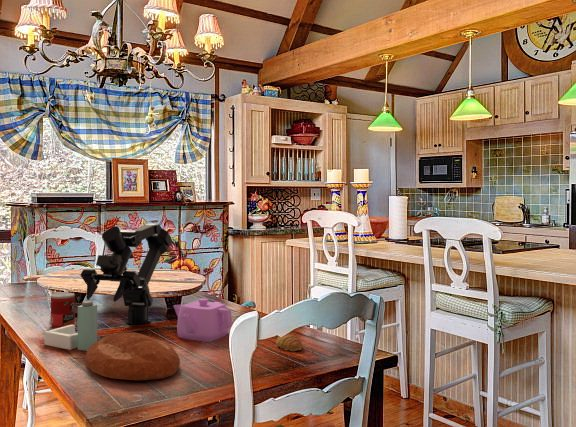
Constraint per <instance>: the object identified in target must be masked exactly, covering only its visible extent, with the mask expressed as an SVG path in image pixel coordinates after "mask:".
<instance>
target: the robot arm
mask: <svg viewBox="0 0 576 427" xmlns="http://www.w3.org/2000/svg"><path fill="white" fill-rule="evenodd" d="M101 238H102V241H103V243H104V244H105V246H106V248H107V249H108V250H109V252H112V253H111V255H106V254H105V255H104V254H100V255H98V256H97V259H96V263H95V265H96V266H97V267H100V272H103V273H98V272H97V271H96V269H89V268H87V269H86V268H84V269H82V271H81V272H80V274H79V275H80V277H81V278H82V280H83V282H84V283H85V284H86V298H85V299H86V300H87V301H90V299H91V298H92V297H93V295H94V294H95V292H96V291H97V289H98V288H99V287H98V286H99V284H100V282H101V281H107V282H119V285H118V287H117V289H116V291H115V294H114V296H113V300H112V301H113V302H117V301H118V300H119V299H121V298H122V299H123V302H124V303H123V304H124V306H125V307H128V310H127V320H125V323H126V324H131V325H134V326H138V325H139V326H140V325H143V324H148V323H152V320H150V319H149V307H152V305H153V301H154V298H153V297H152V294H151V292H150V291H151V290H150V287H149V284H150V281H151V279H152V276H153V275H154V271H155V269H156V268H157V265H158V262H159V260H160V258H161V256H162V255H163V254H165V253H167V252H168V250H169V249H170V247H171V245H172V243H173V239H172V236H171V235H170V233H169V231H166V230H165V229H164V228H163V227H161V225H160V224H159V223H151V222H150V223H146V224H144V225H143V226H140V227H137V228H135V229H127V230H126V229H124V230H122V229H120V228H119V226H117V225H115V226H113V225H112V226H111V228H109V229H107V230H106V231H105V232H102V235H101ZM143 240H145V241H146V242H147V246H148V251H147V253H146V255H145V258H144V260H143V262H142V264H141V266H140V269H139V270H138V273H137V272H136V271H131V270H128V268H127V265H128V262H129V260H130V259H134V254H133V251H132V249H131V248H138V247H139V246H140V245H141V244H142V242H143Z"/></svg>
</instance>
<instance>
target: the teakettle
mask: <svg viewBox="0 0 576 427" xmlns="http://www.w3.org/2000/svg"><path fill="white" fill-rule="evenodd" d="M173 308H174V311H175V314H176V316H177V324H176V325H177V326H176V333H177V336H178V338H181V339H184V340H191V341H197V342H203V343H211V342H215V341H217V340H219V339H222V338H223V337H225V336H227V335H228V332H229V329H230V328H231V327H233V318H232V316H233V315H232V309H229V308H227V306H226V303H222V302H221V301H209V299H208V298H199V299H198V300H195V301H192V302H188V303H185V304H182V305H181V304H174V305H173Z"/></svg>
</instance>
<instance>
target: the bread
mask: <svg viewBox="0 0 576 427" xmlns="http://www.w3.org/2000/svg"><path fill="white" fill-rule="evenodd" d="M85 364H86V366H87V367H88V369H90V371H91V372H92V373H95V374H97V375H100V376H102V377H105V378H109V379H114V380H115V379H116V380H117V379H118V380H128V381H137V382H138V381H140V382H141V381H150V380H151V381H152V380H162V379H165V378H168V377H171V376H173V375H174V374H175V373H177V372H178V369H180V368H179V367H180V366H181V359H180V357H179V355H178V353H177V351H176V349H174V347H173V346H172V345H171V344H169V343H168V342H166V341H164V340H161V339H157V338H154V337H151V336H149V335H146V334H142V333H138V332H116V333H113V334H109V335H106V336H104V337H102V338H101V339H99V340H97V342H95V343H93V344H92V345H91V346H90V347H89V349H88V351H87V350H86V355H85Z"/></svg>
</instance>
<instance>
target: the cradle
mask: <svg viewBox="0 0 576 427" xmlns="http://www.w3.org/2000/svg"><path fill="white" fill-rule="evenodd" d="M44 345H45V346H50V347H55V348H59V349H64V350H73V349H78V332H76V325H75V324H74V325H68V326H64V327H60V328H54V329H50V330H46V331H44Z"/></svg>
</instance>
